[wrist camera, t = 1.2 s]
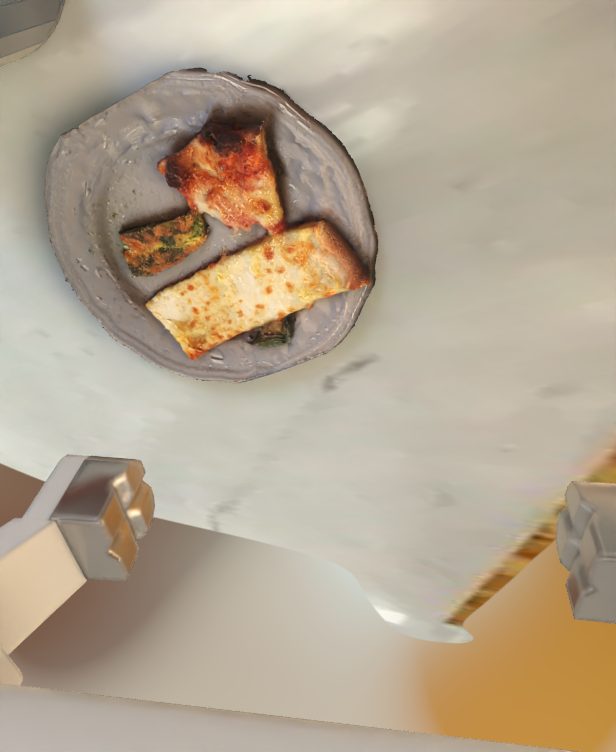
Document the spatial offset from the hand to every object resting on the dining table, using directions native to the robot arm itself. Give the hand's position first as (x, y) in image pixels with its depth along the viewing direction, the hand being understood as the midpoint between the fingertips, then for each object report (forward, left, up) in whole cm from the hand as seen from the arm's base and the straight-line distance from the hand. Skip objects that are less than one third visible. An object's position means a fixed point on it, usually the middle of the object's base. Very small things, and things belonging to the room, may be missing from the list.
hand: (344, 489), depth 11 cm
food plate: (+14, -9, -33) cm, 37 cm away
